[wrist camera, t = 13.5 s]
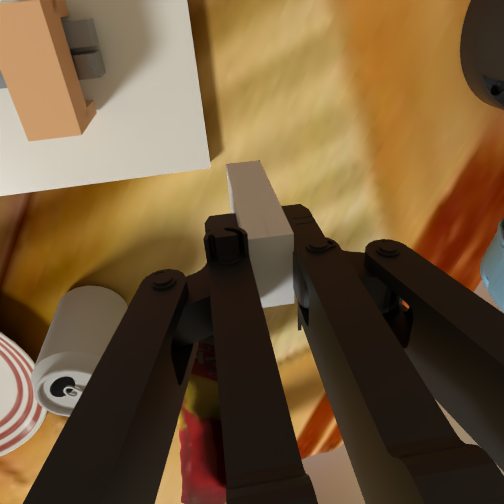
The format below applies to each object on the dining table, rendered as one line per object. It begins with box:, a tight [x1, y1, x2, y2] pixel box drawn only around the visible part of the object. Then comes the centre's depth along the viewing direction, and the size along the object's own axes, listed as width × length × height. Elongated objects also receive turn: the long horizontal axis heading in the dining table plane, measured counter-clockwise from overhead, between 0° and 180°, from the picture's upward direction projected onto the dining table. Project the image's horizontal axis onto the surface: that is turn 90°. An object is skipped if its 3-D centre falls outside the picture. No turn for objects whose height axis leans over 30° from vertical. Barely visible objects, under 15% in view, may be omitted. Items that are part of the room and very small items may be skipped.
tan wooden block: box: [0, 0, 97, 141], centre depth 27 cm, size 4×8×6 cm, turn 5°
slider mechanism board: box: [0, 0, 211, 196], centre depth 29 cm, size 28×16×6 cm, turn 95°
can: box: [31, 286, 128, 416], centre depth 40 cm, size 8×8×12 cm
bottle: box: [178, 335, 227, 504], centre depth 41 cm, size 12×6×20 cm, turn 50°
